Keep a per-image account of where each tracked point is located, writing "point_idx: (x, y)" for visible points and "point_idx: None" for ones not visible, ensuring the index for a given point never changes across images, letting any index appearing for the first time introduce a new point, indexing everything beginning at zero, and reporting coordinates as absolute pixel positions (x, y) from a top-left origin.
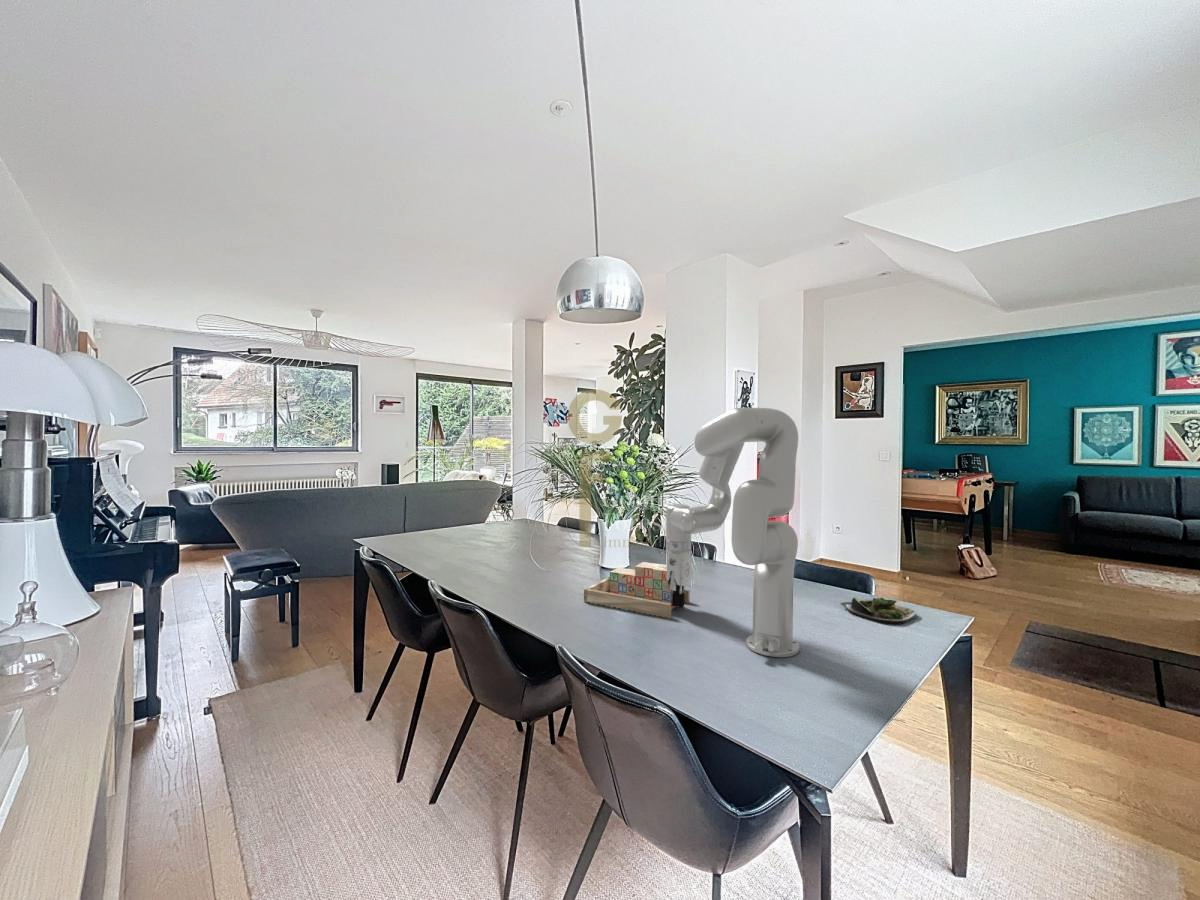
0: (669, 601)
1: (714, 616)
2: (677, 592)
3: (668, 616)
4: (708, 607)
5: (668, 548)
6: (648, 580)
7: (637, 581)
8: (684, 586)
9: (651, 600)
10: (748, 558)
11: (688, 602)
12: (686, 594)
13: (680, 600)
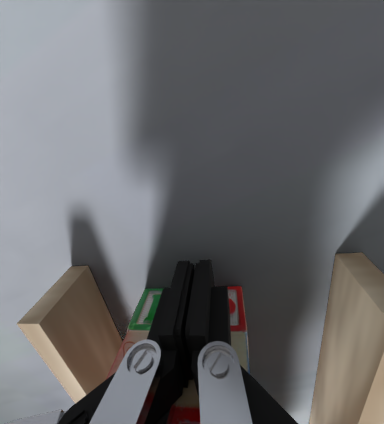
0: (247, 337)
1: (161, 16)
2: (254, 384)
3: (367, 264)
4: (49, 154)
5: None
6: None
7: None
8: (121, 402)
9: (370, 416)
10: None
11: (83, 267)
12: (63, 308)
13: (210, 299)
